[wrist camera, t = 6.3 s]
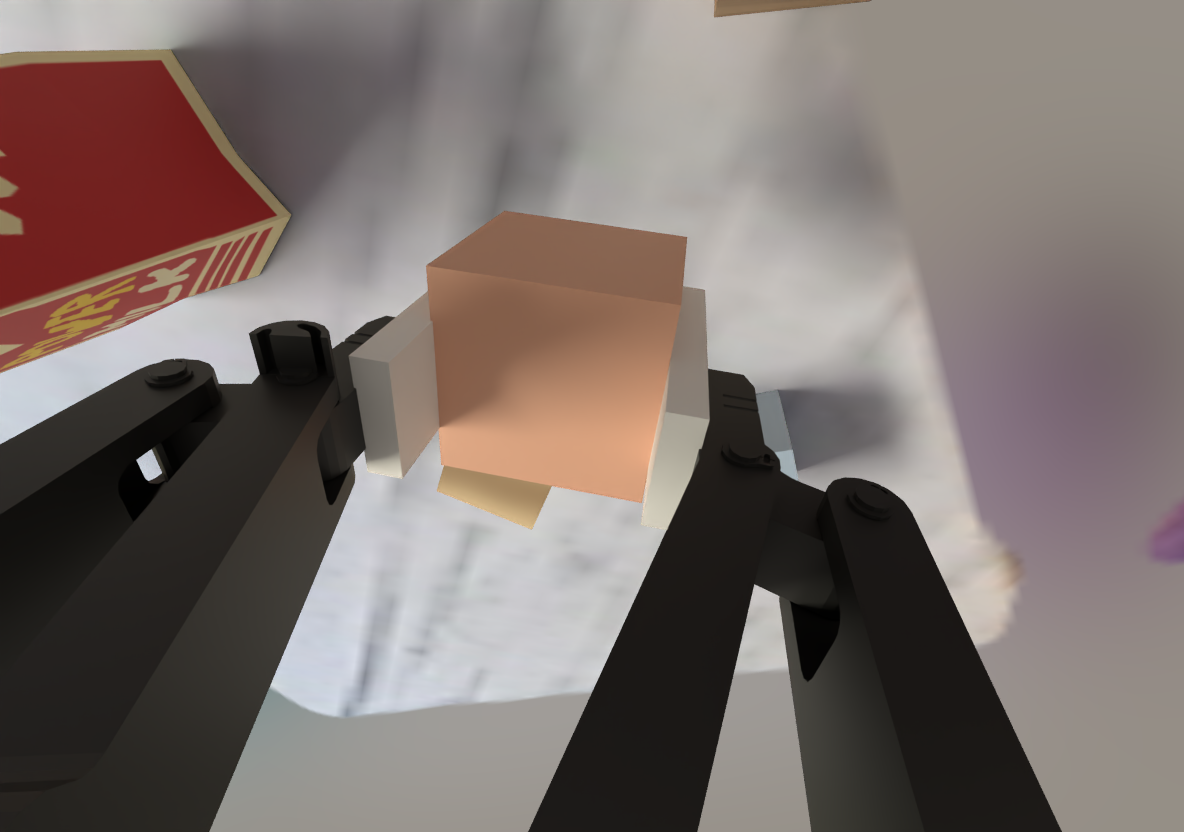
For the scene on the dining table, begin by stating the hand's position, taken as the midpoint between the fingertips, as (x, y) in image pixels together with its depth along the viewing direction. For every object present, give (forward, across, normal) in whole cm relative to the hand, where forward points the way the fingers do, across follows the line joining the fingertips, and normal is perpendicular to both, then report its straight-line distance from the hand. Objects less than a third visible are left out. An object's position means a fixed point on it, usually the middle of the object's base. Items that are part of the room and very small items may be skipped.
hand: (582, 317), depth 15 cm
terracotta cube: (0, 0, 0) cm, 0 cm away
